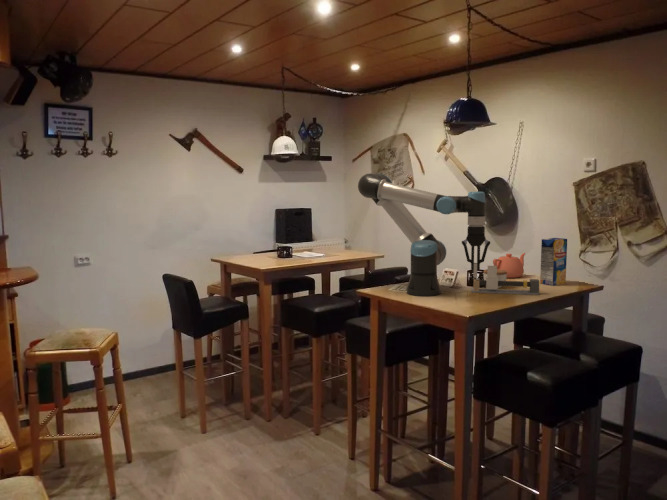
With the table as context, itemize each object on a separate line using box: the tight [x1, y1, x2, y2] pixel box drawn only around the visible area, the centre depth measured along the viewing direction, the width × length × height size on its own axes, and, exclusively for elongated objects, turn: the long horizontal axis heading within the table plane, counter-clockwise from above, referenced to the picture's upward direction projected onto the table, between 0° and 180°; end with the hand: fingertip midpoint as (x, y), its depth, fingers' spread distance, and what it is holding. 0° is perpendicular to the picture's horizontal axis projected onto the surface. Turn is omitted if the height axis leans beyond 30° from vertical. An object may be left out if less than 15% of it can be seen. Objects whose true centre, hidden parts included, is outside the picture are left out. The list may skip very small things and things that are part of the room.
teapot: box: [492, 252, 526, 279], centre depth 281 cm, size 22×15×12 cm
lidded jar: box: [483, 268, 507, 289], centre depth 253 cm, size 11×11×9 cm
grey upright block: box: [485, 265, 499, 289], centre depth 240 cm, size 5×5×10 cm
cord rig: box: [470, 278, 540, 296], centre depth 240 cm, size 29×7×6 cm, turn 76°
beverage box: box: [539, 237, 568, 287], centre depth 259 cm, size 7×11×22 cm, turn 125°
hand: (475, 277), depth 242 cm, fingers closed
